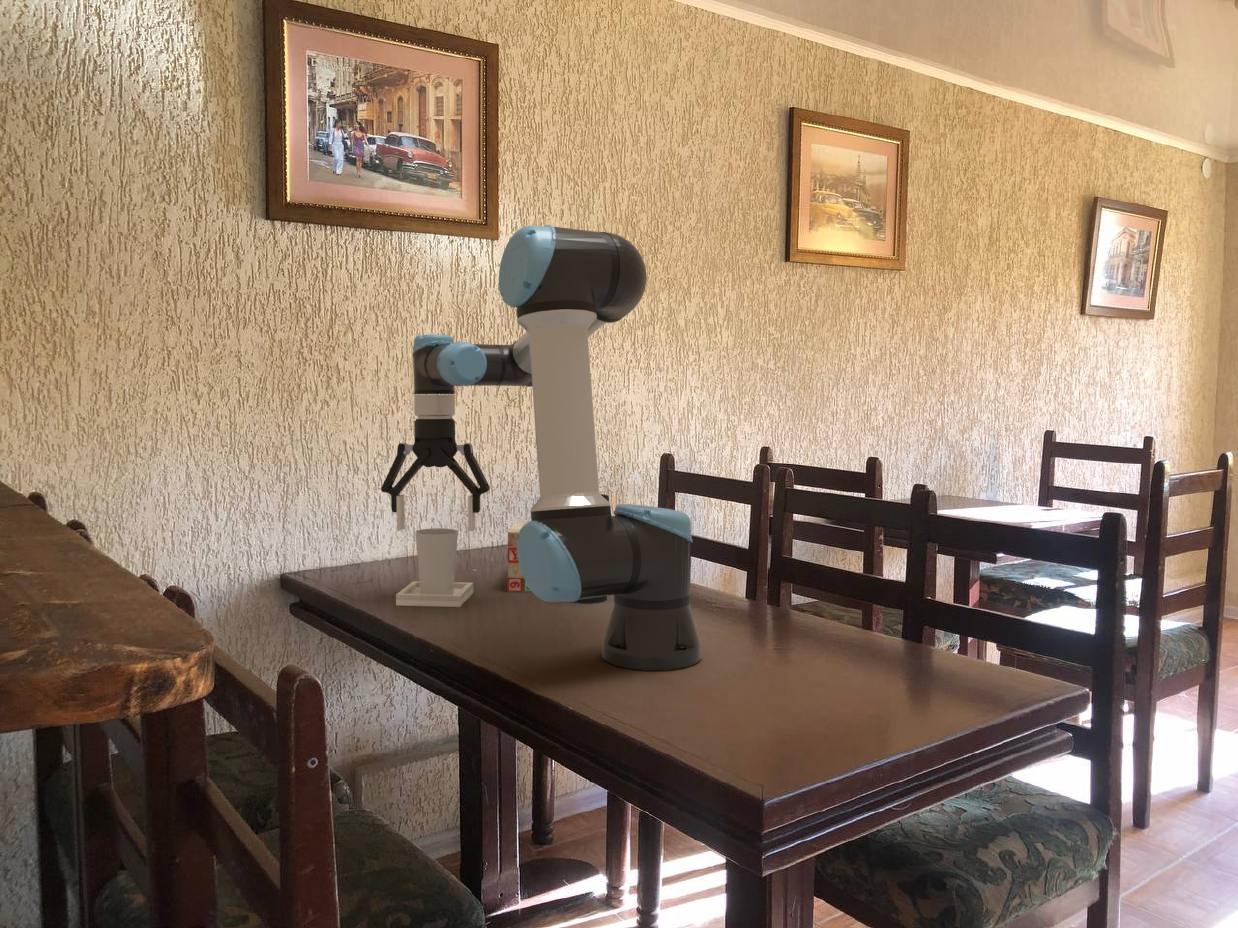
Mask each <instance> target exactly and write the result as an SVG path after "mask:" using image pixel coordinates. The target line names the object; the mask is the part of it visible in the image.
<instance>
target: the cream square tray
mask: <svg viewBox="0 0 1238 928" xmlns="http://www.w3.org/2000/svg"><path fill="white" fill-rule="evenodd" d="M473 594H474V582H463V581H462V582H455V581H454V594H453V595H436V594H420V580H419V581H418V580H417V581H412V582H410V583H409V584H408V585H406V586H405V587H404V588H403V589H401V590H400V591H399V592H398V593H396V594H395V606H403V607H404V606H405V607H406V606H408V607H409V606H410V607H445V608H446V607H448V608H461V607H462V605H464V603H465V602H466V601H467V600H468V599H469V598H470V597H471V596H472V595H473Z"/></svg>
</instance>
